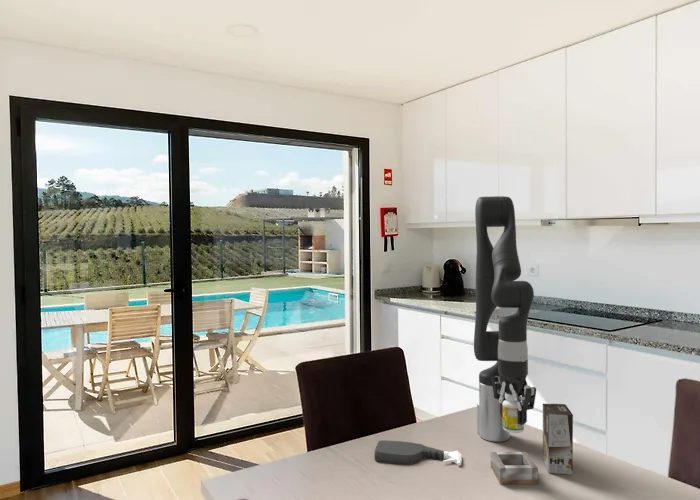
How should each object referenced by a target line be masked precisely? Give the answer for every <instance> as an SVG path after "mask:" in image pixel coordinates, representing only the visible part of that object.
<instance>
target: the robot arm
mask: <svg viewBox="0 0 700 500" xmlns="http://www.w3.org/2000/svg"><path fill="white" fill-rule="evenodd" d="M514 206H515V205H514V202H513V200H512V198H511V197H510V196H503V195H502V196H496V195H495V196H479V197H478V198H477V200H476V201H475V207H474V208H475V209H474V210H475V211H474V212H475V213H474V215H475V216H474V217H475V218H474V219H475V236H476V237H475V239H476V240H475V241H476V262H475V264H476V265H475V321H474V323H475V325H474V335H473V353H474V354H473V355H474V357H475V359H476V360H477V361H480V362H496V363H494V365H492V366H490V367H488V368H486V369H483V370H481V371H480V372H479V374H478V391H479V392H478V394H479V395H478V399H479V400H478V403H477V404H476V414H477V415H476V419H477V420H476V422H477V423H476V424H477V426H476V427H477V428H476V431H477V434H478V435H479V437H480V438H482V439H484V440H486V441H489V442H494V443H495V442H496V443H497V442H506V441H508V440H509V439H510V438H511V436H510V435H511V433H510V432H507V431H505V430H504V429H503V407H502V404H503V401H504V400H506V399H505V392H506V393H508V394H511V395H513V398H514V401H515V402H516V403H517V407H518V424H520V425H523V424H524V425H525V424H526V423H527V421H528V411H529V410H533V409H534V407H535V402H536V401H535V400H536V395H537V387H536V386H530V385H528V382H527V379H526V378H527V376H528V375H529V359H528V357H529V354H528V353H529V352H528V351H529V350H528V349H529V347H528V340H527V338H528V337H527V335H528V333H527V327H528V326H527V325H528V319H529V314H530V311H531V307H532V304H533V301H534V294H535V293H534V288H533V286H532V284H531V283H529V282H528V281H525V280H518V279H519V278H520V276H521V275H522V266H521V264H520V263H521V262H520V258H519V254H518V253H519V252H518V249H517V227H516V213H515V207H514ZM498 227H499V228H503V232H502V233H501V235H500V237H499V239H498V240H497V241H496V243H495V245H494V246H493V244H492V242H491V240H490V237H489V233H488V228H498ZM497 308H500V309H517V310H516V312H515V313H513V314H511V315H506V316H502V317H501V318H499V320H498V330H494V331H493V330H488V325H489V321H490V319H491V317H492V315H493V313H494V312H495V310H496V309H497ZM518 396H521V398H519V397H518ZM521 402H522V403H523V405H522V404H521Z"/></svg>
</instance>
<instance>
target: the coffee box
mask: <svg viewBox="0 0 700 500" xmlns="http://www.w3.org/2000/svg"><path fill="white" fill-rule="evenodd" d="M573 433H574V414H573V412H572V411H571V410H570V408H569V407H568V405H566V404H565V403H542V460H543V462H544V464H545V467H546V469H547V472H548V473H549V474H559V475H570V476H573V473H574V472H573V469H574V468H573V463H574V461H573V459H574V458H573V457H574V456H573V455H574V451H573V449H574V447H573V446H574V443H573V442H574V441H573V440H574V435H573Z"/></svg>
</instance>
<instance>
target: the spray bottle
mask: <svg viewBox="0 0 700 500" xmlns="http://www.w3.org/2000/svg"><path fill="white" fill-rule="evenodd" d="M423 459H433V460H439V461H442V463H454V464H456V465H457V466H458V467H459V466H462V461H463V460H462V453H461V452H459V450H454V451H447V450H446V451H444V450H442V449H439V448H435V447H431V446H428V445H427V446H426V445H424V444H422V443H417V442H416V443H415V442H410V441H402V440H401V441H400V440H387V439H385V440H381V439H380V440H378V442H377V443H376V446H375V449H374V460H375V461H377V462H380V463H389V464H402V465H410V464H411V465H412V464H415V463H418V462H420V461H421V460H423Z"/></svg>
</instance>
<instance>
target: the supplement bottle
mask: <svg viewBox="0 0 700 500" xmlns="http://www.w3.org/2000/svg"><path fill="white" fill-rule="evenodd" d="M518 397H519V398H521V397H522V396H518ZM505 399H506V400H504V401H503V404H502V407H503V429H504V430H505V431H507V432H510V434H520V433H522V432H523V433H524V430H525V424H523V425H520V424H518V407H517V403H516V402H515V401H514V398H513V395H511V394H508V393H506V392H505ZM521 404H522V405H523V403H522V401H521Z"/></svg>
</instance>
